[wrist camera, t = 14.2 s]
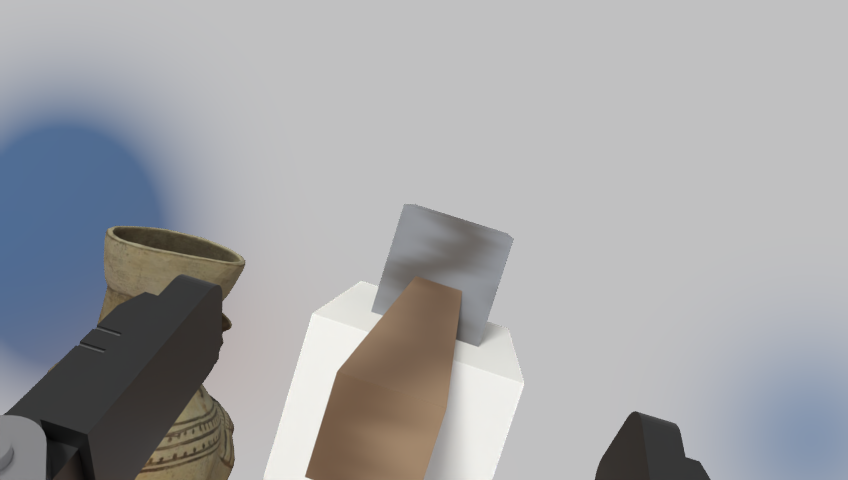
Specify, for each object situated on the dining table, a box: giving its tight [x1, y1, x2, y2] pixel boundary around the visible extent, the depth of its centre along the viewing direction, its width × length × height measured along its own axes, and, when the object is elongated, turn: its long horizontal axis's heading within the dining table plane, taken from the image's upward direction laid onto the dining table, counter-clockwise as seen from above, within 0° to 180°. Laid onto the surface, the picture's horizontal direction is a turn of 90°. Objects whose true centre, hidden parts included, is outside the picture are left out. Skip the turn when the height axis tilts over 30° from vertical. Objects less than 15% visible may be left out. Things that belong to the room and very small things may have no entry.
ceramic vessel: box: [48, 226, 245, 480], centre depth 52 cm, size 19×21×30 cm
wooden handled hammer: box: [305, 204, 514, 480], centre depth 29 cm, size 7×28×7 cm, turn 175°
